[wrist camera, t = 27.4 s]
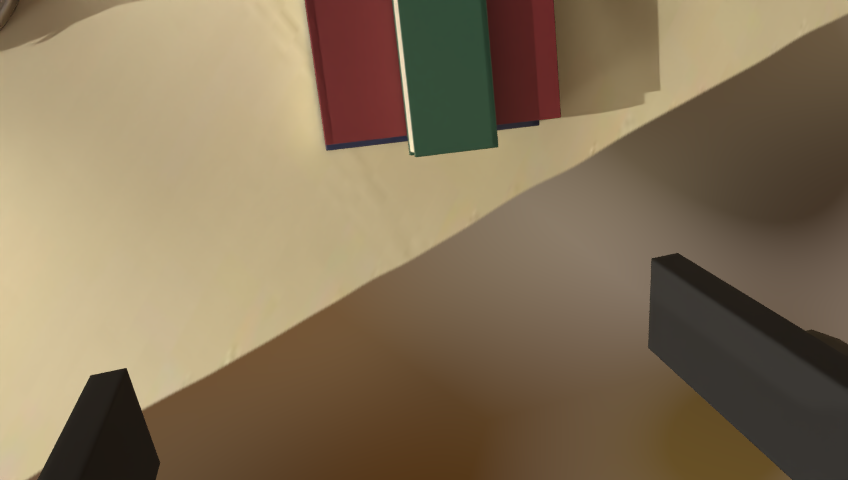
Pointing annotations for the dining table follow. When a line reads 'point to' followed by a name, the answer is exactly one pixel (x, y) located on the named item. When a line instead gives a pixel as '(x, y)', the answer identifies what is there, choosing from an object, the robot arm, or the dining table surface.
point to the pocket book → (445, 75)
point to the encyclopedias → (380, 73)
